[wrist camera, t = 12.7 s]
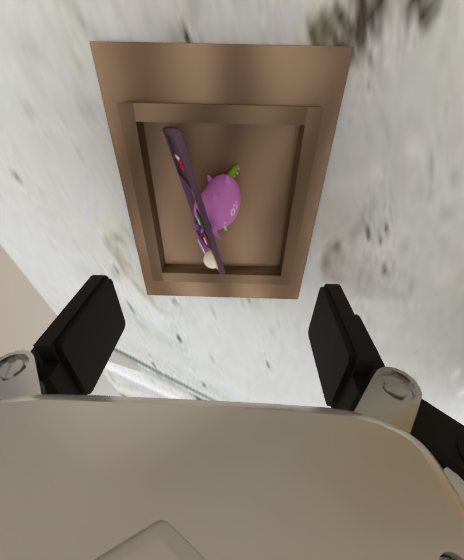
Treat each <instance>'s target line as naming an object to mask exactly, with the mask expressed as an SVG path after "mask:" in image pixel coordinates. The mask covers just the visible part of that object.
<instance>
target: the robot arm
mask: <svg viewBox="0 0 464 560" xmlns="http://www.w3.org/2000/svg"><path fill="white" fill-rule="evenodd" d="M124 328H125V319H124V316H123V313H122V310H121V307H120V304H119V300H118V297H117V294H116V291H115V288H114V285H113V281H112V280H111V279H109V278H108V277H107V276H106V275H92V276H91V277H90V278H89V279H88V280H87V282H86V283H85V284H84V285H83V286H82V288H81V289H80V290H79V291H78V292H77V294H76V295H75V296H74V297H73V298H72V300H71V301H70V302H69V303H68V304H67V306H66V307H65V308H64V309H63V310H62V312H61V313H60V314H59V315H58V316H57V318H56V319H55V320H54V321H53V322H52V324H51V325H50V326H49V327H48V329H47V330H46V331H45V332H44V333H43V334H42V336H41V337H40V338H39V339H38V340H37V342H36V343H35V344H34V345H33V346H34V348H33V349H32V350H31V352H29V351H25V350H21V351H15V352H12V353H8V354H6V355H4V356H2V357H0V560H464V426H463V425H462V424H460V423H459V422H457V421H456V420H454V419H452V418H451V417H449V416H448V415H446V414H445V413H443V412H442V411H440V410H439V409H437V408H435V407H434V406H432V405H431V404H429V403H428V402H426V401H425V400H423V399H422V392H421V389H420V387H419V386H418V384H417V383H416V381H415V380H414V379H413V378H412V377H411V376H409V375H408V374H406V373H405V372H403V371H401V370H399V369H396V368H392V367H385V365H384V363H383V361H382V359H381V357H380V355H379V353H378V351H377V349H376V347H375V345H374V344H373V342H372V340H371V338H370V336H369V334H368V332H367V330H366V328H365V326H364V324H363V322H362V320H361V318H360V317H359V316H358V315H354V312H353V310H352V308H351V306H350V304H349V302H348V300H347V298H346V296H345V294H344V292H343V290H342V288H341V286H340V285H339V284H325V286H324V287H321V288H320V290H319V293H318V297H317V301H316V304H315V308H314V312H313V315H312V319H311V322H310V326H309V331H308V335H309V340H310V343H311V347H312V351H313V355H314V359H315V363H316V367H317V371H318V374H319V378H320V382H321V386H322V390H323V394H324V398H325V401H326V404H327V406H331V408H325V407H311V406H297V405H282V404H264V403H245V402H227V401H207V400H187V399H166V398H145V397H122V396H99V395H87V394H90V393H91V392H92V391H93V389H94V387H95V385H96V383H97V381H98V379H99V377H100V376H101V374H102V372H103V370H104V368H105V366H106V364H107V362H108V360H109V358H110V356H111V354H112V352H113V350H114V348H115V346H116V344H117V342H118V340H119V338H120V336H121V334H122V332H123V330H124Z"/></svg>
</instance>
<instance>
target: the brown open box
mask: <svg viewBox="0 0 464 560" xmlns="http://www.w3.org/2000/svg"><path fill="white" fill-rule="evenodd" d="M89 42H90V46H91V51H92V55H93V59H94V64H95V68H96V72H97V77H98V81H99V85H100V90H101V94H102V99H103V103H104V107H105V112H106V116H107V120H108V125H109V129H110V133H111V138H112V142H113V147H114V151H115V155H116V160H117V164H118V168H119V173H120V177H121V181H122V186H123V190H124V194H125V199H126V203H127V208H128V212H129V216H130V221H131V225H132V229H133V234H134V238H135V242H136V247H137V251H138V255H139V260H140V264H141V269H142V273H143V277H144V282H145V286H146V290H147V295H171V296H206V297H242V298H277V299H298V296H299V292H300V287H301V283H302V278H303V274H304V269H305V264H306V260H307V255H308V251H309V246H310V242H311V237H312V233H313V228H314V224H315V219H316V215H317V210H318V206H319V201H320V197H321V192H322V188H323V183H324V179H325V174H326V170H327V165H328V161H329V156H330V151H331V147H332V142H333V138H334V133H335V129H336V124H337V120H338V115H339V111H340V106H341V102H342V97H343V93H344V88H345V84H346V79H347V75H348V70H349V66H350V61H351V57H352V52H353V48H354V47H349V46H299V45H248V44H198V43H148V42H97V41H89ZM166 127H169V128H174V129H179V130H180V131H181V134H182V137H183V140H184V143H185V147H186V150H187V153H188V156H189V159H190V162H191V165H192V169H193V172H194V175H195V178H196V181H197V184H198V187H199V191H200V194H201V193H202V192H203V191H204V189H205V188H206V186H207V185H208V180H207V175H210V177H211V178H212V179H213V178H215V177H216V176H218V175H221V174H226V175H227V174H228V172H229V171H230V170H231V168H232V167H233V166H234V165H236V164H237V165H238V166H239V168H240V169H239V170H237V172H238V175H237V174H235V177H233V178H234V179H235V180H236V182H237V183H238V185H239V188H240V191H241V205H240V209H239V212H238V215H237V216H236V218H235V220H234V221H233V222H232V223H231V224H230V225H228V226H227V227H226V229H227V231H226V230H225V229H224V228H223V229H219V230H217V232H218V234H219V236H220V237H221V239H218V238H217V237H216V236H215V234H214V238H215V241H216V244H217V247H218V250H219V254H220V257H221V260H222V263H223V266H224V269H225V273H224V274H221V275H220V273H219V271H218V269H216V268H214V269H212V268H208V267H207V266H206V265H205V264H204V260H203V259H204V255H205V254H206V251H205V250H204V251H205V254H204V252H203V250H202V248H201V246H200V244H199V242H198V239H199V237H198V235H197V232H196V226H195V224H194V222H195V221H194V218H193V215H192V212H191V209H190V206H189V204H188V201H187V198H186V195H185V192H184V189H183V187H182V184H181V181H180V178H179V175H178V172H177V170H176V167H175V164H174V161H173V158H172V155H171V153H170V150H169V147H168V144H167V141H166V138H165V136H164V133H163V130H162V129H163V128H166ZM188 189H189V188H188ZM189 191H190V194H191V197H192V200H193V203H194V204H195V198H194V195H193V193H192V192H191V190H190V189H189ZM199 241H200V240H199ZM203 249H204V248H203Z"/></svg>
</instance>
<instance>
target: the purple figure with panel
mask: <svg viewBox="0 0 464 560" xmlns="http://www.w3.org/2000/svg"><path fill="white" fill-rule="evenodd" d="M162 130H163V133H164V136H165V138H166V141H167V144H168V147H169V150H170V153H171V155H172V158H173V161H174V164H175V167H176V170H177V172H178V175H179V178H180V181H181V184H182V187H183V189H184V192H185V195H186V198H187V201H188V204H189V206H190V209H191V212H192V215H193V218H194V221H195V222H194V224H195V226H196V232H197V235H198V237H199V239H198V242H199V244H200V246H201V248H202V250H203V252H204V254H205V251H206V254H205V255H204V259H203V260H204V264H205V265H206V266H207V267H208V268H212V269H214V268H216V269H218V271H219V273H220V275H221V274H224V273H225V269H224V266H223V263H222V260H221V257H220V254H219V250H218V247H217V244H216V241H215V238H214V234H215V236H216V237H217V238H218V239H221V237H220V236H219V234H218V232H217V230H219V229H223V228H224V229H225V230H226V231H227V229H226V227H227V226H228V225H230V224H231V223H232V222H233V221H234V220H235V218H236V216H237V215H238V212H239V209H240V205H241V191H240V188H239V185H238V183H237V182H236V180H235V179H234V178H233V177H235V174H237V175H238V172H237V170H239V169H240V168H239V166H238V165H237V164H236V165H234V166H233V167H232V168H231V170H230V171H229V172H228V174H227V175H226V174H221V175H218V176H216V177H215V178H213V179H212V178H211V177H210V175H207V180H208V185H207V186H206V188H205V189H204V191H203V192H202V193H201V194H200V191H199V187H198V184H197V181H196V178H195V175H194V172H193V169H192V165H191V162H190V159H189V156H188V153H187V150H186V147H185V143H184V140H183V137H182V134H181V131H180V130H179V129H174V128H169V127H166V128H163V129H162ZM188 188H189V189H190V190H191V192H192V193H193V195H194V198H195V204H194V203H193V200H192V197H191V194H190V191H189V189H188ZM199 240H200V241H199ZM203 248H204V249H203ZM204 250H205V251H204Z"/></svg>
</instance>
